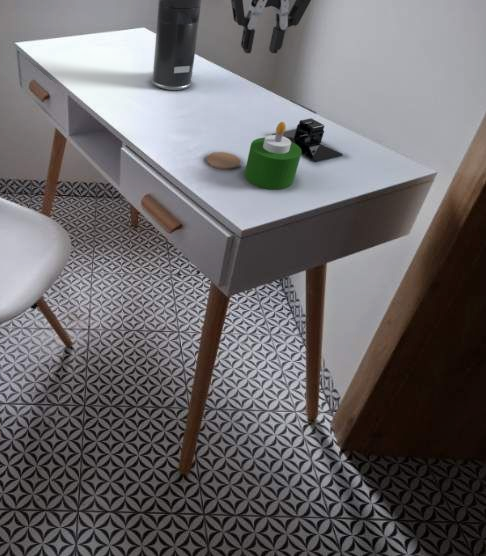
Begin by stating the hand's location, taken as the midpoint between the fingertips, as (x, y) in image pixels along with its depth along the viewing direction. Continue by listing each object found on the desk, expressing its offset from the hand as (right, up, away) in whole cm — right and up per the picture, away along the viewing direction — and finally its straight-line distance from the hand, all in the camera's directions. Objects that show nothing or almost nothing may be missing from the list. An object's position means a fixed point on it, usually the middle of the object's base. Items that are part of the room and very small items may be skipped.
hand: (259, 51), depth 87 cm
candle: (+2, -21, +2) cm, 21 cm away
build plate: (+12, -13, +12) cm, 22 cm away
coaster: (-5, -17, +6) cm, 19 cm away
